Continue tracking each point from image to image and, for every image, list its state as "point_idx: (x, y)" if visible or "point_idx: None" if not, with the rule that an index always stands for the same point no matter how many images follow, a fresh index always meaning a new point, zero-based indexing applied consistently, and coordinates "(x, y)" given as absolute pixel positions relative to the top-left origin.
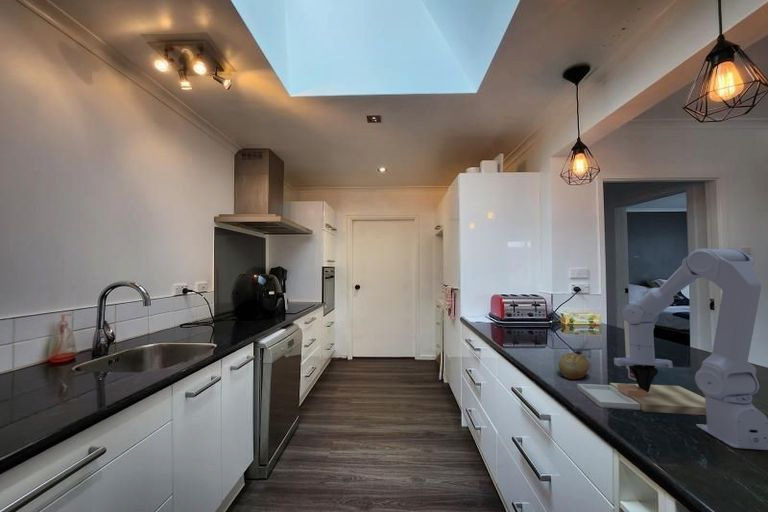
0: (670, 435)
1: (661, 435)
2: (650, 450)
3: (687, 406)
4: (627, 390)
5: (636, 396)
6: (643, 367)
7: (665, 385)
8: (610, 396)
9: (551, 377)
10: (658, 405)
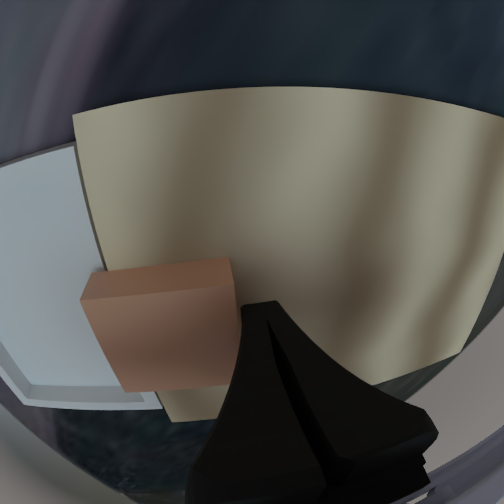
0: (181, 464)
1: (161, 465)
2: (123, 484)
3: None
4: (125, 390)
5: None
6: (321, 500)
7: (493, 118)
8: (56, 295)
9: None
10: None
